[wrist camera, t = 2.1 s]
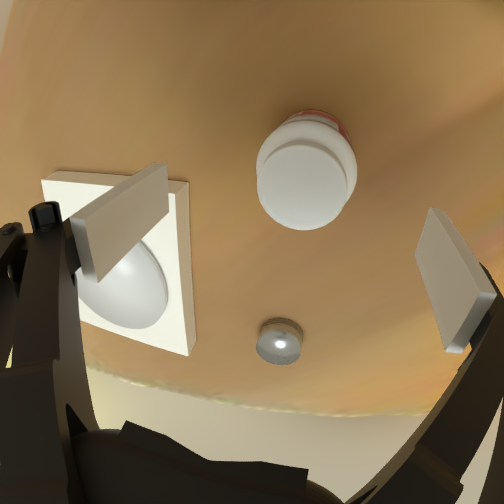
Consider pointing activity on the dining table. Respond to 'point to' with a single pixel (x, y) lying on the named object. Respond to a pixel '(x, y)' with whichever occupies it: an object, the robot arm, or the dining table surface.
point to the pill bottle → (306, 170)
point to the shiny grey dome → (280, 341)
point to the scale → (137, 268)
